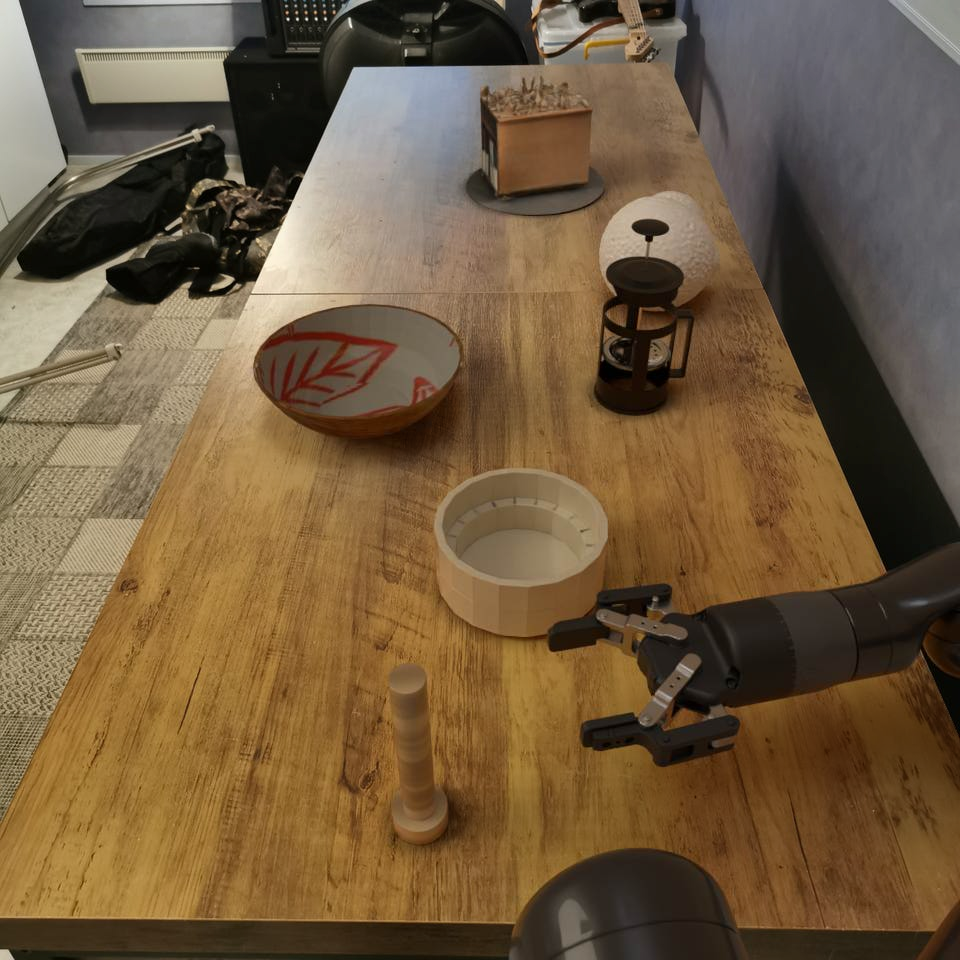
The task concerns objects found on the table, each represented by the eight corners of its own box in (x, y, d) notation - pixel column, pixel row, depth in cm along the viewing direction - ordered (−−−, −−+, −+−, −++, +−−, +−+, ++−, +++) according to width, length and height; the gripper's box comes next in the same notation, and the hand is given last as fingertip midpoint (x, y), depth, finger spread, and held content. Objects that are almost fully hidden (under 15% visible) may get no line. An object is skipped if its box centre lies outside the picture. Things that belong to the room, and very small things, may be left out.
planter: (545, 229, 154) (549, 114, 142) (437, 189, 167) (433, 81, 155) (631, 183, 168) (642, 75, 156) (525, 149, 181) (528, 47, 169)
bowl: (245, 379, 121) (234, 326, 116) (426, 340, 128) (423, 288, 123) (289, 497, 103) (278, 440, 98) (496, 443, 110) (496, 388, 105)
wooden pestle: (453, 838, 72) (445, 698, 61) (397, 850, 72) (378, 710, 60) (443, 789, 76) (434, 647, 64) (389, 799, 75) (370, 658, 63)
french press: (591, 415, 114) (606, 243, 99) (585, 372, 122) (599, 206, 107) (686, 415, 114) (715, 243, 99) (675, 373, 121) (701, 206, 106)
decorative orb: (570, 321, 132) (576, 215, 121) (594, 264, 144) (602, 164, 134) (712, 341, 127) (731, 233, 117) (724, 281, 140) (743, 179, 130)
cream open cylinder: (624, 624, 89) (631, 570, 84) (454, 654, 86) (452, 599, 81) (575, 511, 101) (579, 457, 96) (425, 533, 99) (421, 480, 94)
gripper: (809, 757, 66) (589, 802, 63) (727, 609, 76) (537, 643, 74) (834, 692, 61) (597, 738, 58) (743, 544, 71) (539, 578, 69)
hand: (564, 685), depth 66 cm, fingers open, 8 cm apart
